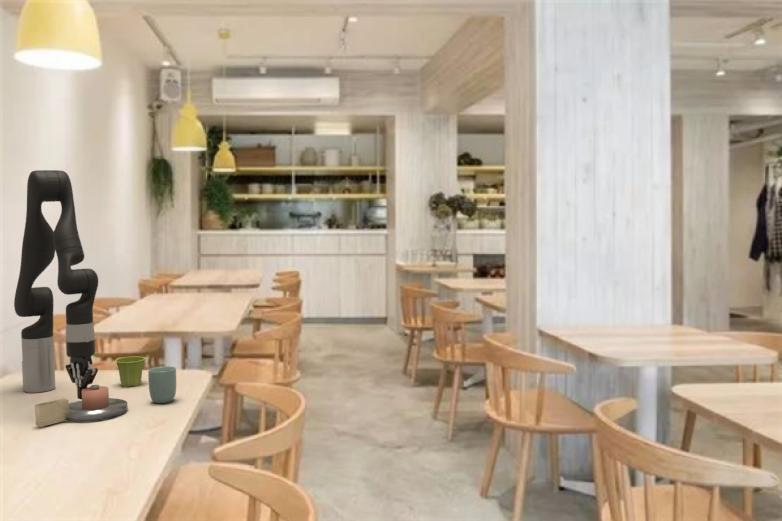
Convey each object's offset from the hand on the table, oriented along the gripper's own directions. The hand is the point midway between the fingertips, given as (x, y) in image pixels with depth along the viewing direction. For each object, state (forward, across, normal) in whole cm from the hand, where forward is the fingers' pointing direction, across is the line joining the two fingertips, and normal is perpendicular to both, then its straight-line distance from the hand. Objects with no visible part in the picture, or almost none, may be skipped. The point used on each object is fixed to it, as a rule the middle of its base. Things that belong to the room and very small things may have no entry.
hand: (82, 398), depth 202 cm
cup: (+4, +11, +19) cm, 22 cm away
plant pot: (+4, -16, +27) cm, 32 cm away
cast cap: (+2, +6, 0) cm, 6 cm away
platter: (+3, +5, -4) cm, 7 cm away
